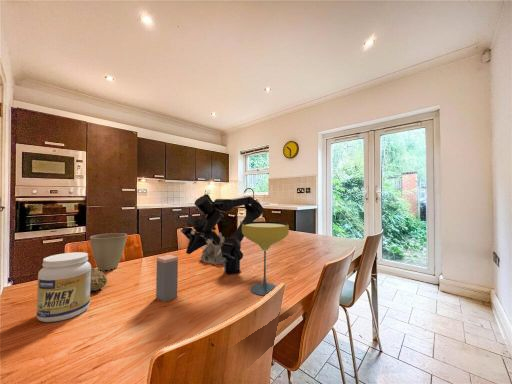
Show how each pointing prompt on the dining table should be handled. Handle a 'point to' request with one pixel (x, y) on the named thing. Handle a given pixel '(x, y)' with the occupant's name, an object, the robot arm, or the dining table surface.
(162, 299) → the charcoal block
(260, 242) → the cocktail glass
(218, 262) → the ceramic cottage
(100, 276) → the brown rock
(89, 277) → the supplement tub
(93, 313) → the dining table surface
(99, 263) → the plant pot
